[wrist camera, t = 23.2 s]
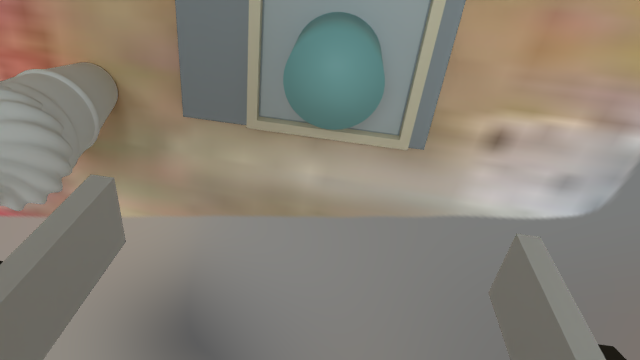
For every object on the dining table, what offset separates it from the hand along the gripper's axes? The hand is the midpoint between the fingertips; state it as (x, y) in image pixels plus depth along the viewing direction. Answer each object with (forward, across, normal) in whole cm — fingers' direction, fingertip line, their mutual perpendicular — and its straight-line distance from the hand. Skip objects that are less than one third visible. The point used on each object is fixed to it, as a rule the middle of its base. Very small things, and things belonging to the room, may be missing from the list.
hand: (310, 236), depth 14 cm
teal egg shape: (+20, 0, 0) cm, 20 cm away
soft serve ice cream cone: (+22, -20, -6) cm, 30 cm away
